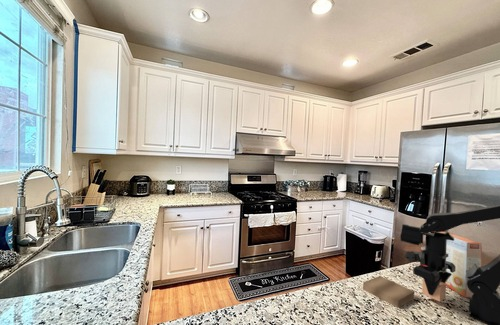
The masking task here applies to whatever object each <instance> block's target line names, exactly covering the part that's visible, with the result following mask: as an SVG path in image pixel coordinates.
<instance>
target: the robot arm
mask: <svg viewBox="0 0 500 325" xmlns="http://www.w3.org/2000/svg"><path fill="white" fill-rule="evenodd" d="M497 219H498V220H499V219H500V204H495V205H489V206H484V207H480V208H475V209H469V210H465V211H464V210H463V211H459V212H436V213H430V214H429V215H428V216H427V217H426V220H425V222H424V223H423V224H421V225H420V226H419V227H418V226H414V225H413V226H412V225H409V224H405V223H403V224H402V226H401V232H400V242H402V243H407V244H411V245H414V246H415V245H416V246H420V245H422V244H423V243H425V246H424V247H425V250H422V252H421V251H414V250H411V251H410V250H408V251H406V252H405V254H404V255H405V256H404V258H405V259H406V260H408V263H412V262H413V263H420V262H421V264H422V265H420V264H419V265H416V266H415V267H413V269H412V274H413V275H415V276H418V277H420V278H422V280H423V279H424V281H425V284H426V287H427V290H428V293H429V294H430V295H433V294H434V292H435V291H436V289H437V287H438V285H439V284H440V282H443V283H446V281H447V280H448V278H449V277H450V276H451V275H452V274H451V273H449V272H447V270H446V269H450V272H452V273H453V272H455V268H456V266H455V265H454V264H453V263H451V262H448V261H446V258H447V257H448V254H447V253H446V247H447V240H452V241H454V237H453V236H451V235H450V234H449V233H450V232H449V230H451V229H455V228H457V227H459V226H462V225H467V224H473V223H480V222H486V221H491V220H497ZM440 232H446V233H440ZM424 236H425V242H424ZM423 265H426V266H427V267H426V266H423ZM465 279H466V283H467V287H468V288H469V290H470V291H471V292H472V293H474V294H473V295H472V298H469V300H468V302H469V303H468V312H470V313H468V316H469V317H470V318H473V319H475V320H477V321H480V322H482V323H484V324H486V325H500V293H499V292H498V291H497V290H498V288H499V287H500V254H498V255H497V256H495V257H494V258H493V259H492V260H491V261H490V262H488V263H487V264H485V265H481V267H479V266H477V265H476V264H474V265H473V266H472V267H471V269H469V270H466V275H465Z"/></svg>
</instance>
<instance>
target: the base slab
mask: <svg viewBox="0 0 500 325" xmlns="http://www.w3.org/2000/svg"><path fill="white" fill-rule="evenodd" d="M362 290H364V291H366V292H368V293H369V294H371V295H373V296H375V297H377V298H378V299H380V300H382V301H384V302H385V303H388V304H389V305H391V306H392V307H395V308H397V309H398V307H399V308H400V307H402V306H404V305H405V304H407V303H409V302H410V301H412V300H414V299H415V291H414V290H412V289H410V288H407V287H405V286H403V285H401V284H399V283H397V282H395V281H393V280H390V279H388V278H386V277H383V276H381V275H379V276H377V277H374V278H373V277H372V278H371V279H369V280H366V281H363V283H362Z"/></svg>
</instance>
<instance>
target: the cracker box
mask: <svg viewBox="0 0 500 325" xmlns="http://www.w3.org/2000/svg"><path fill="white" fill-rule="evenodd" d="M446 232H447V231H443V232H440V233H446ZM449 234H450V235H451V236H453V237H454V241H452V240H447V247H446V253H447V254H448V257H447V258H446V261H448V262H451V263H453V264H454V265H455V266H456V268H455V272H453V273H452V272H450V269H446V270H447V272H449V273H451V274H452V275H451V276H450V277H449V278H448V280H447V281H446V288H449V289H450V290H452V291H453V292H456V293H457V294H458V295H461V296H463V298H469V299H471V298H472V295H473V294H474V293H472V292H471V291H470V290H469V288H468V287H467V283H466V279H465V275H466V270H469V269H471V267H472V266H473V265H474V264H476V265H477V266H479V267H482V246H483V244H482V243H481V242H478V241H476V240H473V239H470V238H466V237H463V236H460V235H457V234H454V233H451V232H449Z"/></svg>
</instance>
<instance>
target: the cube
mask: <svg viewBox="0 0 500 325" xmlns="http://www.w3.org/2000/svg"><path fill="white" fill-rule="evenodd" d="M421 288H422V290H421V291H422V293H421V294H422V295H425V296H427V297H429V298H430V299H432V300H435V301H437V302H439V303H440V302H442V301H443V300H445V299H446V297H447V296H446V295H447V286H446V283H443V282H440V284H439V285H438V287H437V289H436V291H435V292H434V294H433V295H430V294H429V293H428V290H427V287H426V284H425V281H424V279H423V278H422V287H421Z"/></svg>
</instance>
